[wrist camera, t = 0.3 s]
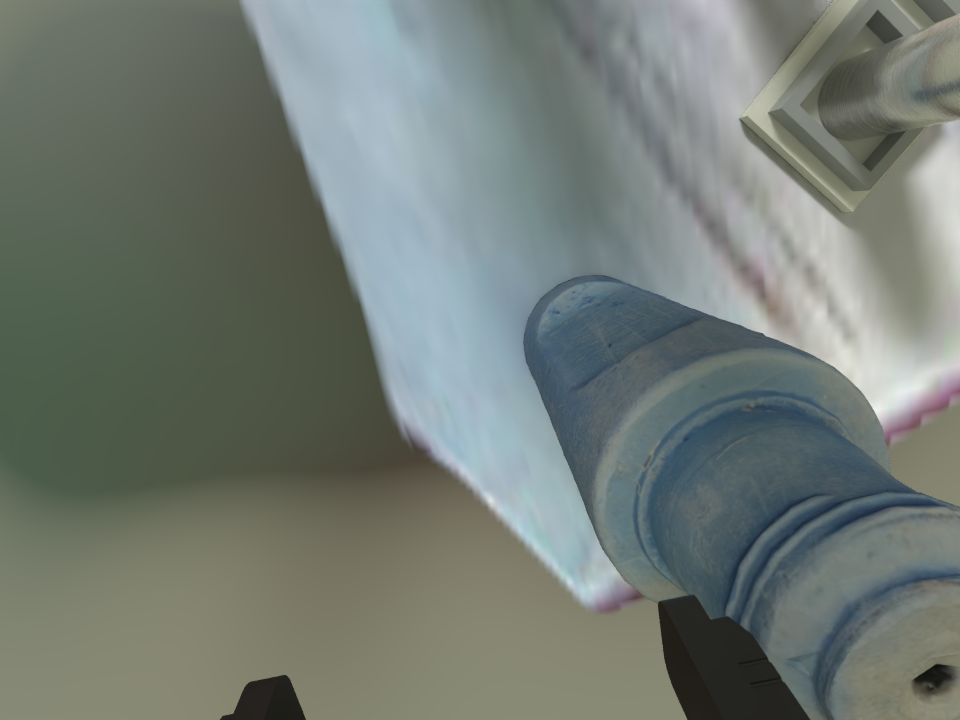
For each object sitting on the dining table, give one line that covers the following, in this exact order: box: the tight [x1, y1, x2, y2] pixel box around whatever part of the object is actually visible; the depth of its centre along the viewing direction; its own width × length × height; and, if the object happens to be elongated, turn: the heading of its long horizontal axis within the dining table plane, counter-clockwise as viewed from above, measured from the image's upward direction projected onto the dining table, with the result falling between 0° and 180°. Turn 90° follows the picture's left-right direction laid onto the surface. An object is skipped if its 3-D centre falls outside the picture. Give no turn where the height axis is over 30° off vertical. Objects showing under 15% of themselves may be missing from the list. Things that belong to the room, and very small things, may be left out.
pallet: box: [740, 0, 960, 212], centre depth 33 cm, size 20×10×2 cm, turn 143°
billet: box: [818, 13, 960, 141], centre depth 28 cm, size 5×5×12 cm
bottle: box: [524, 275, 960, 720], centre depth 25 cm, size 10×10×30 cm
